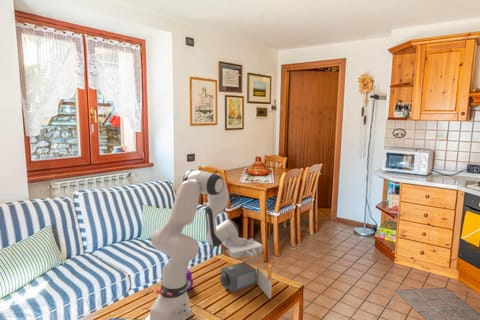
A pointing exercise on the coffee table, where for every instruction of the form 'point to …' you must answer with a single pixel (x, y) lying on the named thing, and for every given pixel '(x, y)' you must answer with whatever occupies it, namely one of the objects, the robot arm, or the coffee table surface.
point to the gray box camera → (238, 276)
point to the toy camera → (189, 280)
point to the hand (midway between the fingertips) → (254, 255)
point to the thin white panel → (264, 280)
